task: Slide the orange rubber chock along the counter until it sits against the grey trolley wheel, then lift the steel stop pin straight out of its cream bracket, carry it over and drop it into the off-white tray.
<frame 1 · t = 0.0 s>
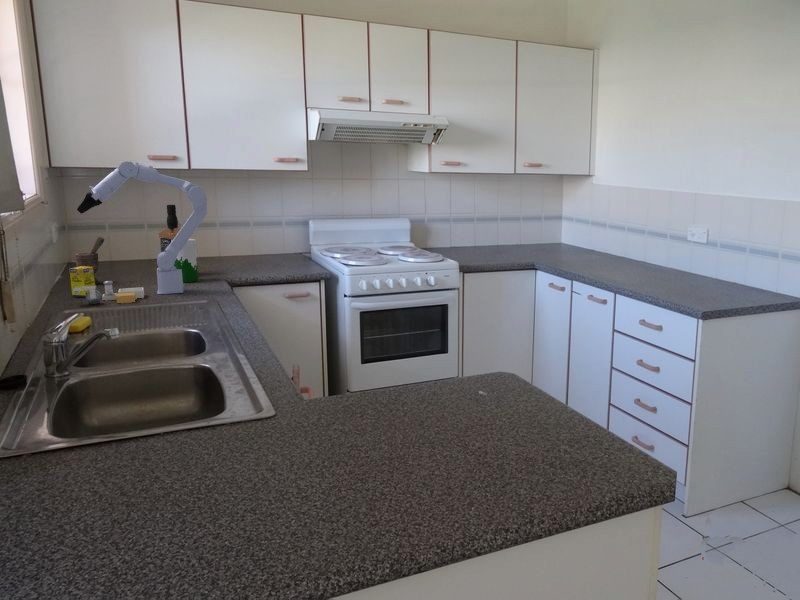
hand: (80, 211, 223), 32 cm above the table, tool tilted 50°, fingers open, 7 cm apart
milk carton: (187, 281, 263), on the table
whiskey bottle: (176, 276, 275), on the table
supplement box: (84, 296, 233), on the table
chock: (126, 302, 222), on the table
pin: (109, 299, 227), resting in pin bracket
pin bracket: (109, 298, 227), on the table
tray: (131, 297, 230), on the table
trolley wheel: (94, 303, 219), on the table
mortar and pestle: (93, 284, 257), on the table
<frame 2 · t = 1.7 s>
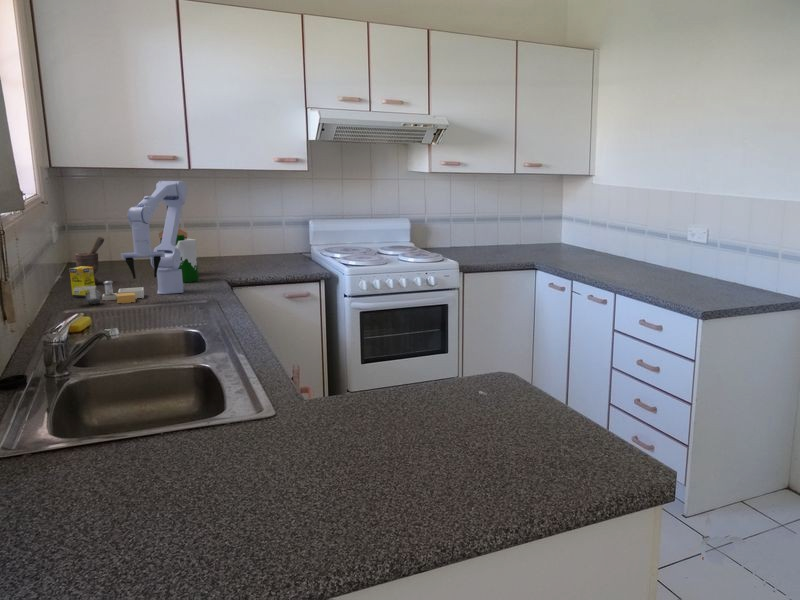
hand: (145, 277, 223), 8 cm above the table, tool pointing down, fingers open, 6 cm apart
nothing on the table moved.
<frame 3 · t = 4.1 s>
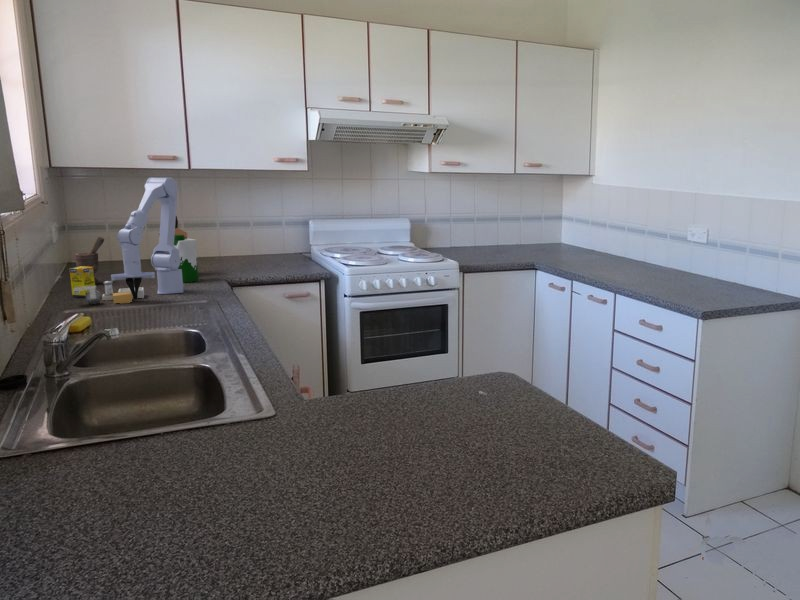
hand: (135, 298, 223), 1 cm above the table, tool pointing down, fingers closed
chock: (122, 301, 222), on the table, touching gripper
everything else where it was.
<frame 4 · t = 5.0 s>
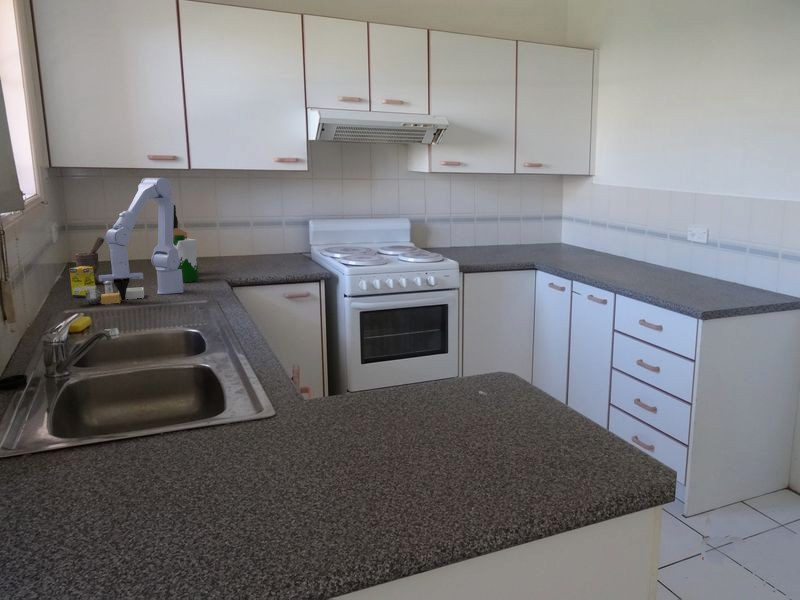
hand: (123, 299, 222), 1 cm above the table, tool pointing down, fingers closed
chock: (111, 302, 221), on the table, touching gripper, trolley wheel
everything else where it was.
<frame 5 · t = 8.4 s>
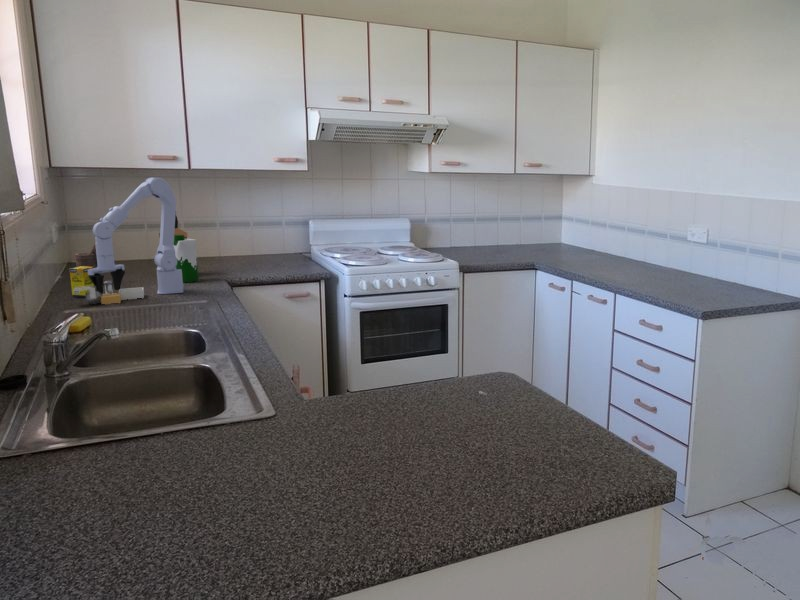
hand: (108, 291, 226), 3 cm above the table, tool pointing down, fingers open, 7 cm apart
chock: (111, 303, 221), on the table
everything else where it was.
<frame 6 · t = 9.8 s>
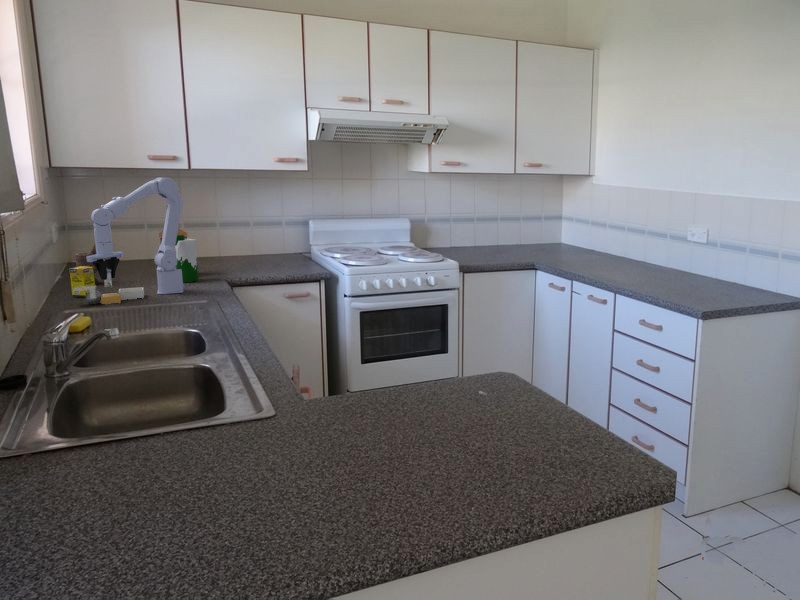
hand: (107, 278, 226), 8 cm above the table, tool pointing down, fingers closed on pin, 3 cm apart
pin: (108, 287, 226), point 5 cm above the table, touching gripper
everything else where it was.
when the fingers open (4 cm above the table, at t = 11.9 s): pin stays where it is, resting on tray.
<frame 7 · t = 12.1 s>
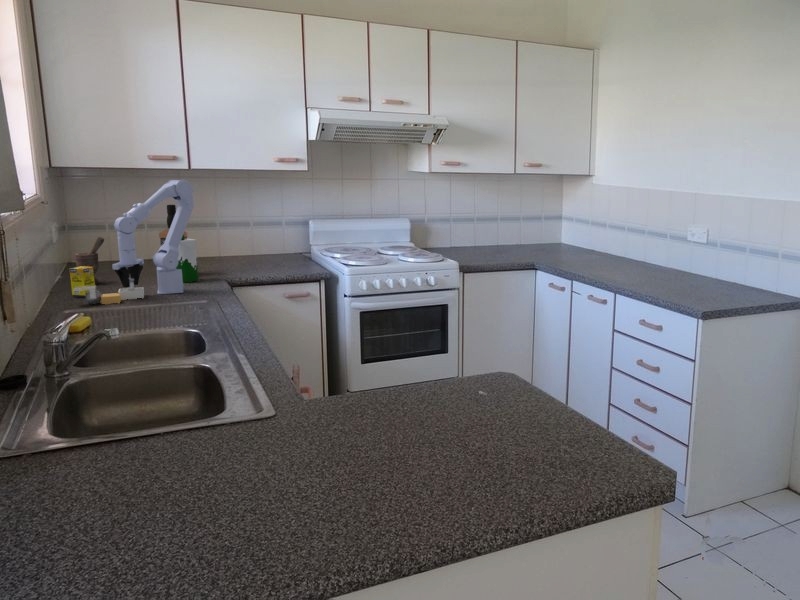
hand: (130, 285, 229), 4 cm above the table, tool pointing down, fingers open, 4 cm apart
pin: (131, 295, 229), point 1 cm above the table, touching tray
everything else where it was.
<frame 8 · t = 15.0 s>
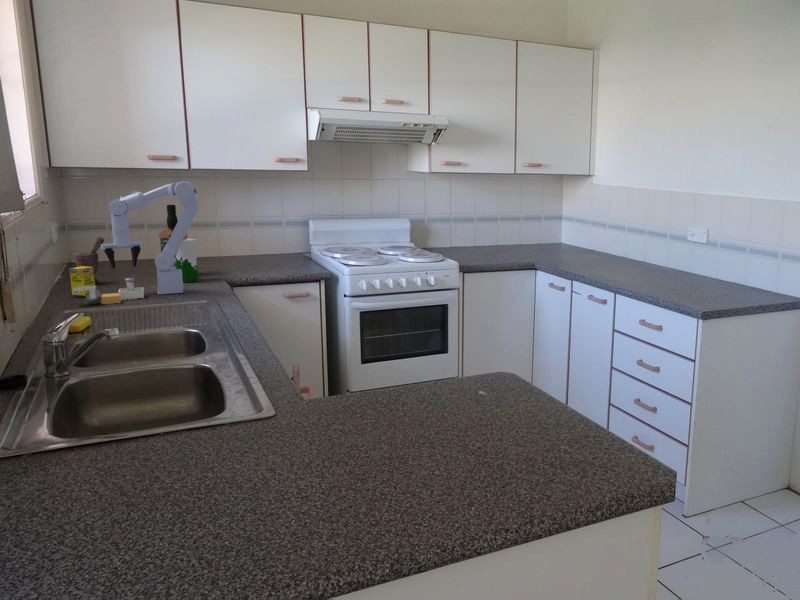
hand: (124, 267, 235), 10 cm above the table, tool pointing down, fingers open, 7 cm apart
nothing on the table moved.
at the end: chock 0.7 cm from the target spot on the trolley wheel, point 0.0 cm above the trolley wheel's base; pin 0.1 cm off-centre on the tray, point 0.6 cm above the tray's base; the gripper is holding nothing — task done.
